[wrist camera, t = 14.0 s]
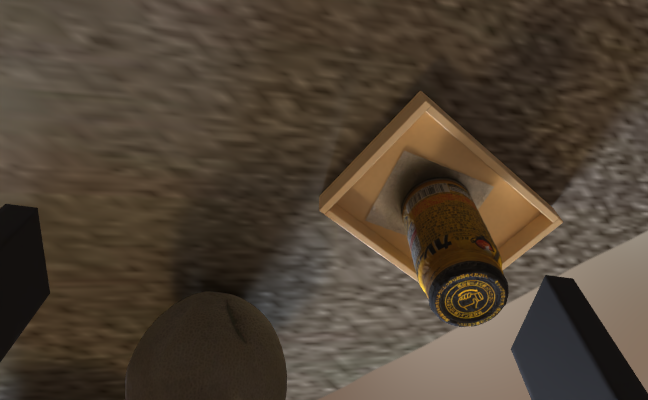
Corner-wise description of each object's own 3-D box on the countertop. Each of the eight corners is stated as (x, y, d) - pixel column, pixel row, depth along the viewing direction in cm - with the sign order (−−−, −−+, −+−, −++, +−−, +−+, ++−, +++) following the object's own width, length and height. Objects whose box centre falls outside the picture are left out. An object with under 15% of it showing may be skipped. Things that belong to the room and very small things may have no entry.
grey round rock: (123, 298, 50) (50, 436, 37) (246, 242, 46) (215, 371, 33) (205, 387, 56) (168, 533, 43) (319, 343, 53) (317, 486, 39)
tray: (319, 195, 44) (318, 210, 42) (420, 89, 39) (425, 100, 37) (449, 291, 49) (454, 308, 47) (552, 207, 45) (563, 222, 42)
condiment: (449, 250, 46) (486, 350, 36) (364, 219, 45) (377, 313, 34) (493, 185, 43) (547, 273, 33) (403, 148, 41) (430, 229, 31)
